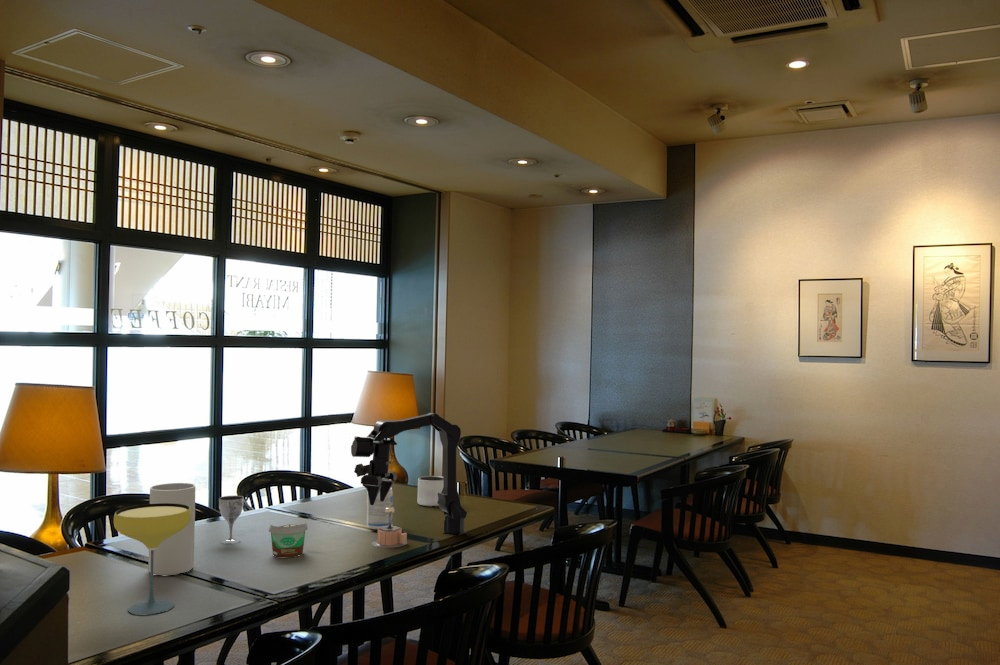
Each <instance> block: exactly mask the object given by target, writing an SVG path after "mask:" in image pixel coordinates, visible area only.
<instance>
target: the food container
mask: <svg viewBox="0 0 1000 665" xmlns="http://www.w3.org/2000/svg"><path fill="white" fill-rule="evenodd" d="M307 530H308V524H307V521H305V522H304V523H303V524H302V523H301V524H285V525H280V526H275V525H273V524H270V525H269V528H268V532H269V533H270V537H271V549H272V556H273V555H274V556H276V557H275V558H277V557H293V558H295V557H294V556H298V555H301V554H302V553H303V552H304V544H305V538H306V537H305V536H306V531H307ZM303 554H304V553H303ZM303 554H302V555H303ZM302 555H301V556H302ZM274 556H273V557H274ZM298 557H299V556H298Z"/></svg>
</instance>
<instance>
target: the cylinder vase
mask: <svg viewBox="0 0 1000 665" xmlns="http://www.w3.org/2000/svg"><path fill="white" fill-rule="evenodd" d="M157 503H173V504H183V505H187V506H189V507H190V510H191V519H190V522H189V524H188V525H187V526H186V527H185V528H184V529H182V530H181V531H179V532H178V533H176V534H174V535H172V536H170V537H168V538H167V539H165V540H164V541H162V542H161V543H160V545H159V546H158V547H157V548H156V549H155V550H154V557H153V574H156V575H173V574H179V573H183V572H185V571H188V570H190V569H192V568H193V567H194V568H195V538H196V537H195V536H196V535H195V531H196V530H195V526H196V522H195V521H196V520H195V519H196V484H194V483H189V482H186V483H185V482H171V483H162V484H156V485H152V486H151V487H149V504H157ZM194 568H193V569H194ZM193 569H192V570H193ZM149 572H150V573H151V550H149V549H148V573H149ZM150 573H149V574H150Z"/></svg>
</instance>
